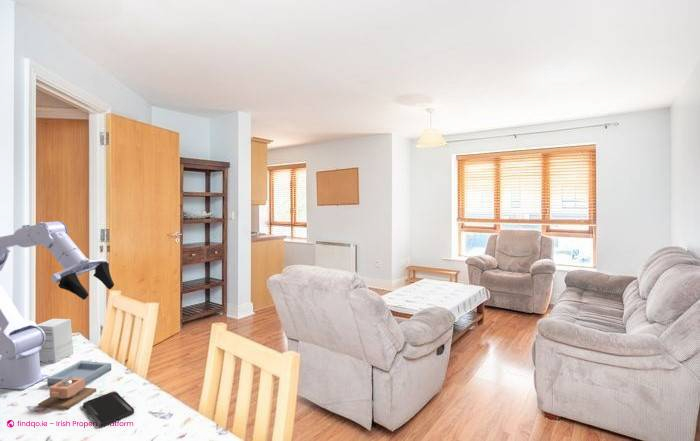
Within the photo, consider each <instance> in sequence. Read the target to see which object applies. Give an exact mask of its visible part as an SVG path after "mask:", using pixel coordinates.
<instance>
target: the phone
mask: <svg viewBox="0 0 700 441" xmlns="http://www.w3.org/2000/svg"><path fill="white" fill-rule="evenodd" d="M82 404H83V405H82V406H83V408H84V410H85V412H86V413H88V415H89V416H90V417H91V418H92V419H93V421H94V422H95V424H97V426H98V427H99V428H103V427H107V426H109V425H111V424H114V423H116V422H119V421H121V420H123V419H126V418H129V417H130V416H133V415H134V414H135V409H134V408H133V406H132V405H130V404H129V403H128V401H126V400H125V399H124V398H123V397H122V396H121V395H120V394H119V393H118V392H117V391H112V392H108V393H105V394H102V395H100V396H96V397H94V398H92V399H88V400H85V402H83V403H82Z"/></svg>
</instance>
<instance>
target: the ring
mask: <svg viewBox="0 0 700 441" xmlns="http://www.w3.org/2000/svg"><path fill="white" fill-rule="evenodd" d="M67 378H69V377H67ZM67 378H66V379H67ZM64 380H65V379H64ZM62 381H63V380H62ZM48 387H49V388H48V389H49V397H63V398H68V397H70V396H72V395H73V394H75V393H77V392H78V391H80V390H82V389H83V388H86V386H85V379H83V378H73V379H72V384H71V385H69V386H67V387H65V386H63V384H62V382H61V381H60V382H58V383H56V384H55V385H53V386H48Z"/></svg>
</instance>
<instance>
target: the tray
mask: <svg viewBox="0 0 700 441" xmlns="http://www.w3.org/2000/svg"><path fill="white" fill-rule="evenodd" d="M110 371H112V362H111V363H110V362H97V361H83V360H82V361H77V362H76V363H74V364H72V365H70V366H67V368H64V369H63V370H60V371H58V372H56V373H55V374H52V375H51V376H49V377H47V378H46V380H47V382H46V383H47V386H48V387H51V386H53V385H55V384H56V383H58V382H60V381H62V380H64V379H66V378H67V377H73V378H83V379H85V387H86V386H87V385H89V384H91V383H92V382H94V381H96V380H97V379H99V378H101V377H102V376H104V375H105V374H107V373H109V372H110Z"/></svg>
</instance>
